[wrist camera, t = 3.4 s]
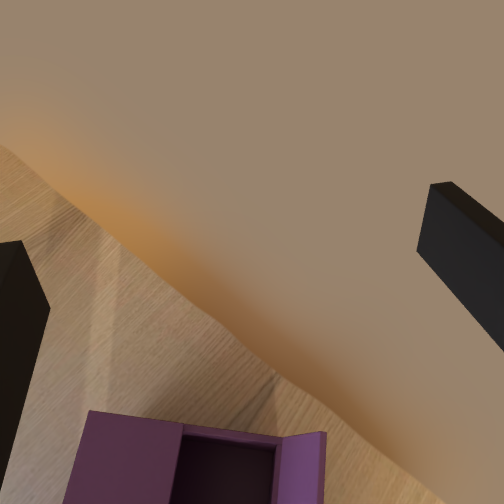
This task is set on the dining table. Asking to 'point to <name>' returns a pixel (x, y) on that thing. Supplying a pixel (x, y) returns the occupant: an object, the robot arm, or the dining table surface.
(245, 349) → the dining table surface
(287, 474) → the flap
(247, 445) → the cardboard box
